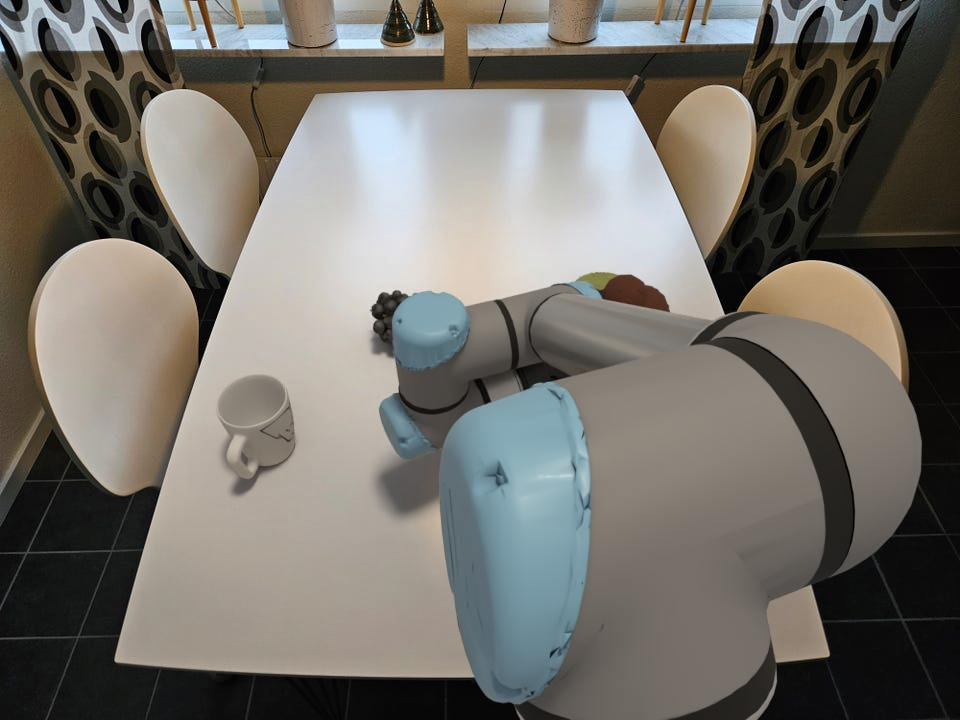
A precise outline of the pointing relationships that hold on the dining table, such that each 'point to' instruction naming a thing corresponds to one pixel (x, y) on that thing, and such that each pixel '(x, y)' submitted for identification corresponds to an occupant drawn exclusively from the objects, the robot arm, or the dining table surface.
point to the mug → (256, 422)
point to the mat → (598, 279)
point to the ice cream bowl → (634, 293)
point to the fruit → (386, 313)
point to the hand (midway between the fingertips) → (652, 316)
